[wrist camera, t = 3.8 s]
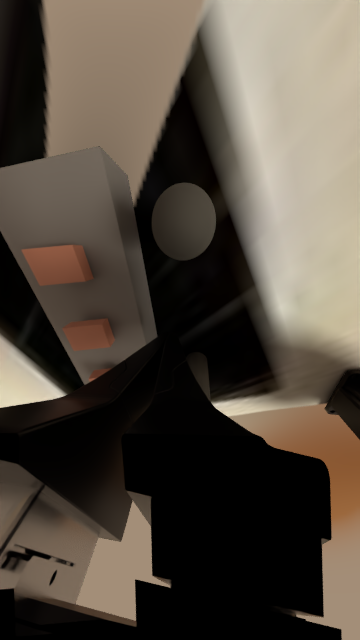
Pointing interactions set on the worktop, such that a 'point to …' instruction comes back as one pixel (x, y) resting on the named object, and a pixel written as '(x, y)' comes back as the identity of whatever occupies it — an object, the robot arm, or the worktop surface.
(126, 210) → the power strip
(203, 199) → the peg
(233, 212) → the worktop surface
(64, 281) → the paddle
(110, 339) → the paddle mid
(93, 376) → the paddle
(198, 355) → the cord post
